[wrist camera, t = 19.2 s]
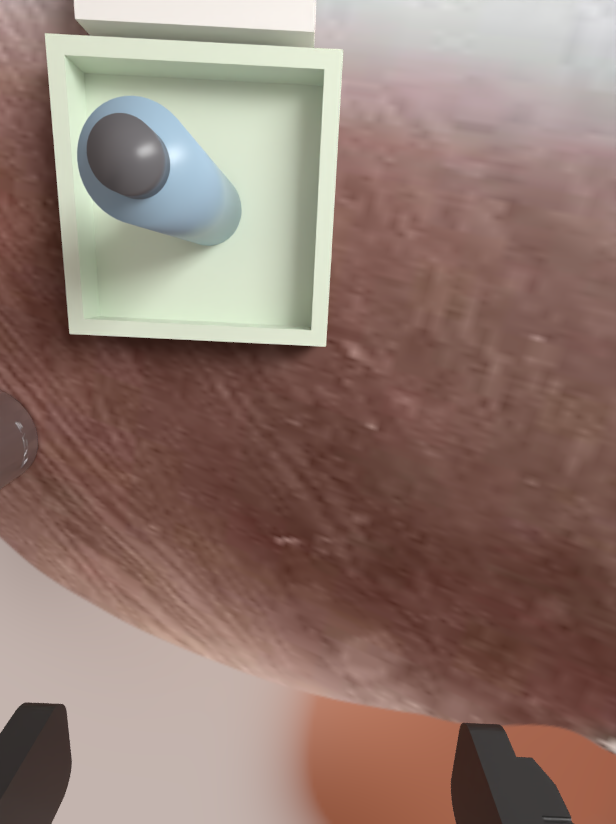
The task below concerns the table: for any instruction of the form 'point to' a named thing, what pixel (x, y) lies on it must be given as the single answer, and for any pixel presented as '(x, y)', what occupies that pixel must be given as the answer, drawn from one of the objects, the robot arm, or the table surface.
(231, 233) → the bottle
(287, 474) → the table surface
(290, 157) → the tray
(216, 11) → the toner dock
